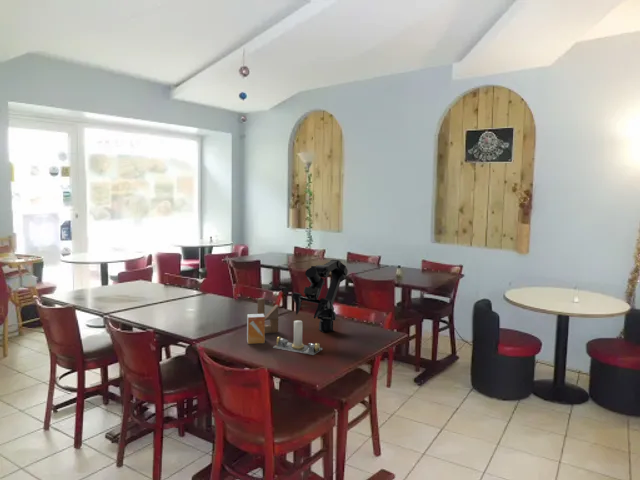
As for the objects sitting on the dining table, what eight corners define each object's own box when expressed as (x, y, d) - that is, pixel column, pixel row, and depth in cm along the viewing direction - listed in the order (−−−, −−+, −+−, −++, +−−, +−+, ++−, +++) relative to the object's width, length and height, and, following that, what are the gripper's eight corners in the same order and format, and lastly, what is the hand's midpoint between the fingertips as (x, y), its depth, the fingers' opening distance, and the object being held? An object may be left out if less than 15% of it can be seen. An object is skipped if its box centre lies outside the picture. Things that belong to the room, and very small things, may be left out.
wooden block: (278, 332, 243) (278, 298, 241) (258, 334, 239) (258, 299, 237) (276, 330, 246) (276, 296, 244) (256, 332, 242) (256, 298, 240)
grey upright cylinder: (304, 345, 219) (305, 320, 218) (302, 349, 214) (302, 323, 213) (293, 344, 220) (293, 319, 219) (290, 348, 215) (290, 322, 214)
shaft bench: (273, 347, 218) (273, 339, 217) (282, 342, 226) (283, 334, 225) (313, 355, 209) (313, 346, 208) (322, 349, 217) (322, 340, 216)
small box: (247, 344, 222) (247, 317, 221) (246, 340, 229) (246, 314, 227) (264, 343, 224) (265, 316, 223) (263, 339, 230) (263, 313, 229)
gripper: (294, 276, 229) (283, 304, 221) (330, 283, 222) (320, 312, 215) (299, 287, 238) (289, 314, 230) (334, 294, 231) (324, 323, 224)
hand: (305, 316), depth 224 cm, fingers open, 9 cm apart
